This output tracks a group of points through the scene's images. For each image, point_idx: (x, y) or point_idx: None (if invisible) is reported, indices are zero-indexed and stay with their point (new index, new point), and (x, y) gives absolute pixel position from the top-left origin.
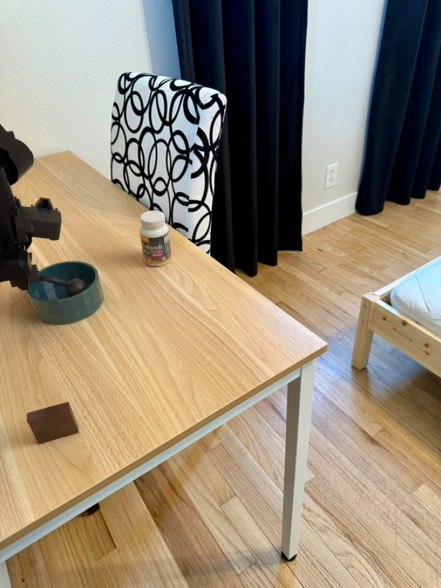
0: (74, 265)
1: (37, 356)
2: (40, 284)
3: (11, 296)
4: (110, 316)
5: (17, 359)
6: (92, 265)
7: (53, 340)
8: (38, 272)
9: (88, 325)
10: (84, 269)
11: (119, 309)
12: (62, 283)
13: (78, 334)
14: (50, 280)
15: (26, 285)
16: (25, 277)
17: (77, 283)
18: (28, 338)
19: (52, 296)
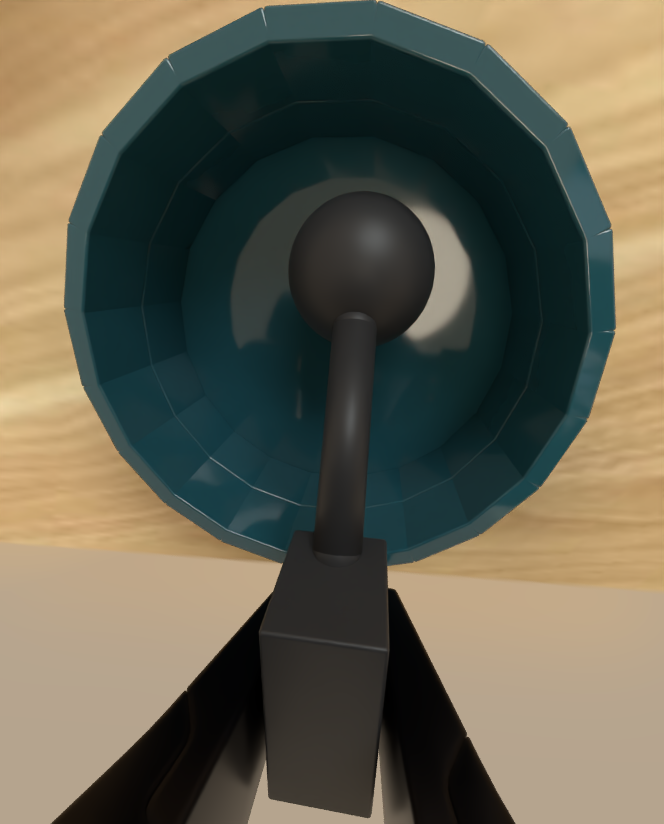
0: (109, 256)
1: (653, 495)
2: (223, 466)
3: (212, 541)
4: (584, 101)
5: (616, 555)
6: (167, 60)
7: (590, 429)
8: (306, 566)
9: None
10: (154, 184)
11: (547, 18)
12: (373, 370)
13: (625, 316)
14: (364, 462)
15: (412, 629)
16: (454, 719)
17: (397, 251)
18: (512, 513)
19: (279, 406)
